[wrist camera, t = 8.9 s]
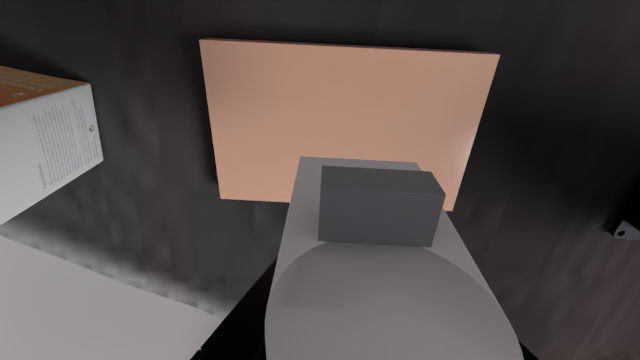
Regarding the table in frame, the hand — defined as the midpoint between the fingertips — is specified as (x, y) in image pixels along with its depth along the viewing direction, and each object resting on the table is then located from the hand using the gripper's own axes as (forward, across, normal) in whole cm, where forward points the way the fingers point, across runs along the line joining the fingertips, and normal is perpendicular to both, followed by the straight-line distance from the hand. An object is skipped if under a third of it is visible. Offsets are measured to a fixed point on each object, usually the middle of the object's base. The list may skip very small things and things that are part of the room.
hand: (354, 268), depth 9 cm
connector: (+2, 0, 0) cm, 2 cm away
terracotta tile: (+12, 0, 0) cm, 12 cm away
